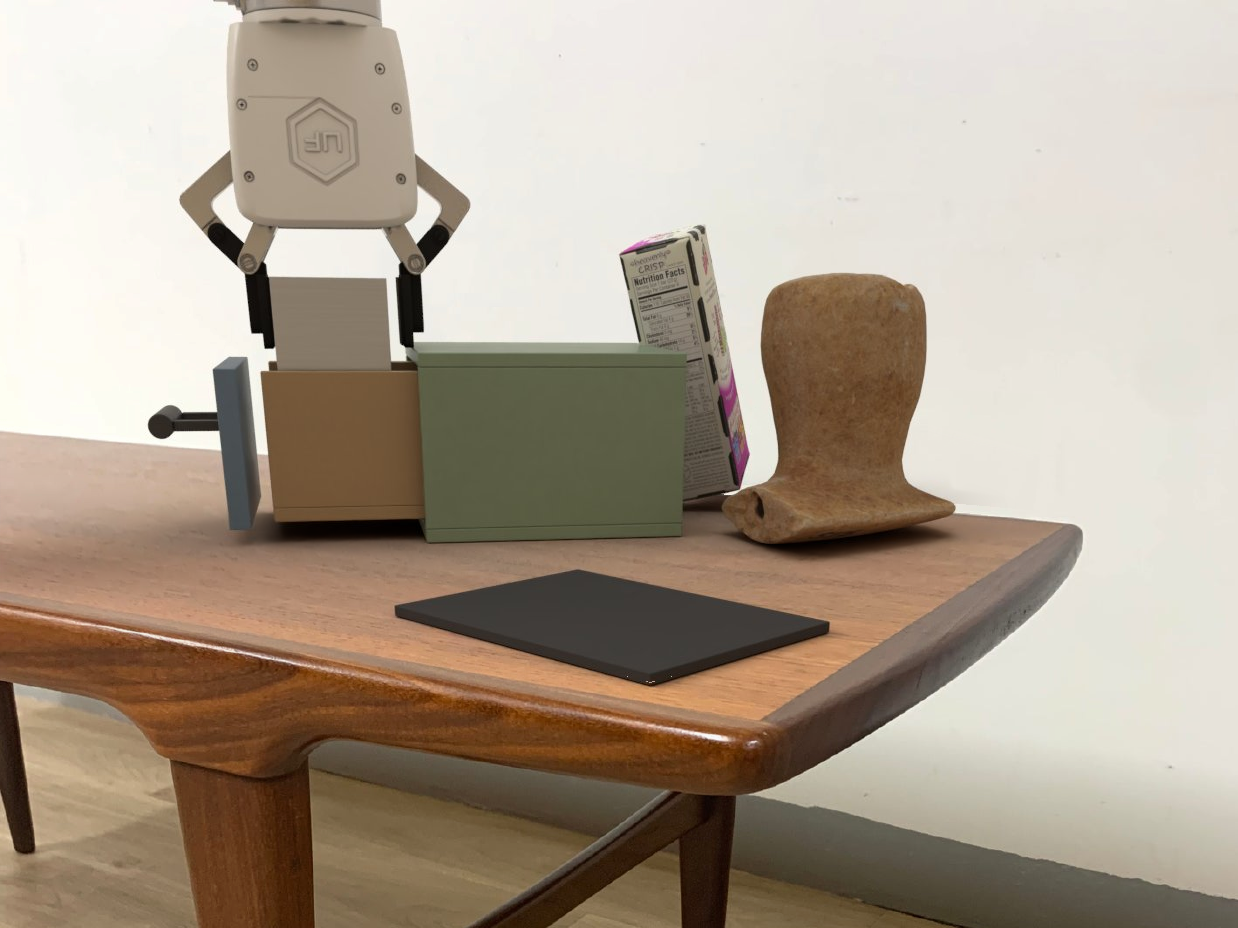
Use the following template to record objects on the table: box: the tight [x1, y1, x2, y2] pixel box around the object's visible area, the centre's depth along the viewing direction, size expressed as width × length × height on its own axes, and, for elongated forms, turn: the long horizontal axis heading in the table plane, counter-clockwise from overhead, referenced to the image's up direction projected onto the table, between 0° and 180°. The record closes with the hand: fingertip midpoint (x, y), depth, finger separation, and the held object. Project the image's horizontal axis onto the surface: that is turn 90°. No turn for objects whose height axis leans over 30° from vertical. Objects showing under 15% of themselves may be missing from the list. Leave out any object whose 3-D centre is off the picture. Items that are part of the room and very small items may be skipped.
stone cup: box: [721, 272, 957, 545], centre depth 78 cm, size 15×12×15 cm
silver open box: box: [268, 276, 392, 371], centre depth 79 cm, size 6×9×12 cm
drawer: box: [147, 356, 425, 531], centre depth 80 cm, size 19×12×9 cm, turn 102°
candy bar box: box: [618, 223, 751, 503], centre depth 89 cm, size 11×5×16 cm, turn 172°
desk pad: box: [394, 568, 831, 686], centre depth 59 cm, size 16×12×1 cm
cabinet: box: [404, 341, 687, 544], centre depth 82 cm, size 16×14×11 cm
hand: (339, 345), depth 78 cm, fingers open, 7 cm apart
